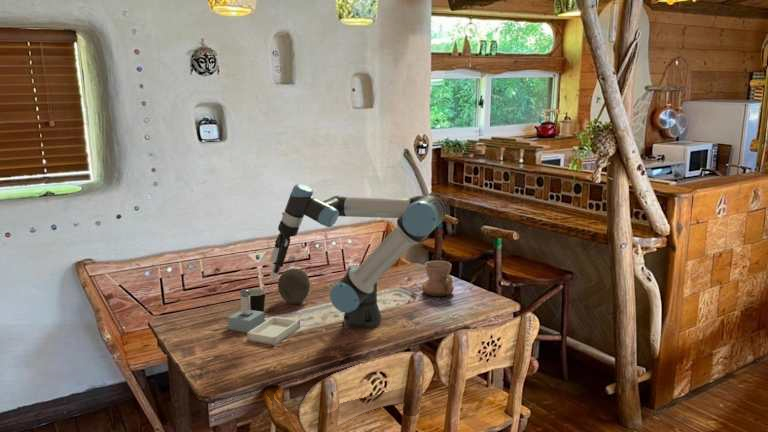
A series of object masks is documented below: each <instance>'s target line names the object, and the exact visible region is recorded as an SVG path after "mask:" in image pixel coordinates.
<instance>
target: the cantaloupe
mask: <svg viewBox="0 0 768 432" xmlns="http://www.w3.org/2000/svg"><path fill="white" fill-rule="evenodd" d="M278 278H279V279H278V281H277V289H278V292H279V295H280V296H281V298H282V299H283V301H285V302H287V303H288V304H291V305H292V304H293V305H298V304H301V303H302V302H303V301H305V299H307V297H308V295H309V292H310V287H311V285H310V284H311V283H310V279H309V276H308V274H307V272H305V271H304V270H303V269H299V268H289V269H286V270H285V271H283V272H282V273H281V274H280V275H279V277H278Z"/></svg>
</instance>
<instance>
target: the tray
mask: <svg viewBox="0 0 768 432" xmlns="http://www.w3.org/2000/svg"><path fill="white" fill-rule="evenodd" d="M299 329H301V320H298V319H293V318H288V317H287V318H286V317H280V316H272V317H270V318H268V319H267V320H265V322H263V323H262V324H260V325H259V326H257V327H255V328H254V329H252V330H250V331H249V332H246V339H247V341H248V342H249V341H250V342H254V343H260V344H266V345H271V346H276V345H278V344H279V343H281V342H282V341H283V340H285V339H286V338H287V337H289V336H291V335H292V334H293V333H295V332H296V331H297V330H299Z"/></svg>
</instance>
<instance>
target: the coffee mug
mask: <svg viewBox="0 0 768 432" xmlns="http://www.w3.org/2000/svg"><path fill="white" fill-rule="evenodd" d="M266 293H267V292H266V290H264V289H263V288H262V289H261V288H252V289H251V288H250V304H251V310H255V311H261V312H264V313H265V306H266V305H265V303H266Z"/></svg>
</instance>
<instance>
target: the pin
mask: <svg viewBox="0 0 768 432" xmlns="http://www.w3.org/2000/svg"><path fill="white" fill-rule="evenodd" d="M250 290H251V288H250V289H249V288H242V289H240V307H241V308H240V310H241V313H242V316H243V317H249V316H251V304H250Z"/></svg>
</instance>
